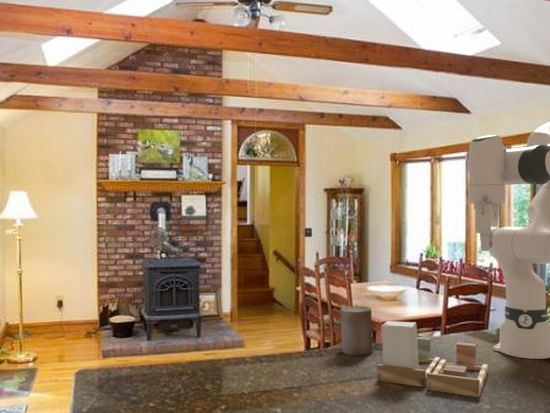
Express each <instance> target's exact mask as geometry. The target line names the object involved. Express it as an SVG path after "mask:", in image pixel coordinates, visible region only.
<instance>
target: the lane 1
mask: <svg viewBox="0 0 550 413" xmlns="http://www.w3.org/2000/svg"><path fill="white" fill-rule="evenodd" d="M431 339H432V338H431V337H423V336H422V337H421V336H417V343H418V360H419V363H420V362H421V363H428V364H429V366H428V367H427V368H426V369H422V368H419V369H414V368H406V367H398V366H390V365H384V364H380V363H379V364H377V366H376V367H377V369H376V370H377V376H376V377H377V378H376V379H377V381H379V382H386V383H393V384H398V385H399V384H400V385H408V386H414V387H423V388H426V387H427V372H428V373H433V372H434V370H435V369H436V367H437V366H438V364H439V363H440V361H441V360H442V359H441V357H440V356H435V357H434V358H431V357H432V355H431V354H432V353H431V352H432V344H431V341H432V340H431Z"/></svg>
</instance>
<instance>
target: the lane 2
mask: <svg viewBox="0 0 550 413" xmlns="http://www.w3.org/2000/svg"><path fill="white" fill-rule="evenodd" d="M455 345H456V350H455V351H456V352H455V353H456V363H455V362H453V363H452V362H447V359H443V358H442V359H440V360H441V361H440V363H439V364H438V366H437V367H436V369H435V370H434V372H433V373H428V372H427V385H426V390H427V391H431V392H438V391H440V393H441V392H442V393H445V392H446V393H447V394H453V393H454V394H455V395H460V394H461V396H468V397H475V398H480V396H481V394H482V391H483V390H482V389H483V386H484V385H485V381H486V379H487V376H488V373H489V364H486V363H482V366H481V365H477V349H476V348H477V344H476V343H469V342H459V341H457V342H456V344H455ZM446 365H456V366H464V367H467V370H469V371H470V370H471V371H479V374H478V376H477V378H476V377H475V378H474V377H468V376H467V377H460V376H452V375H444V374H443V369H444V368H445V366H446ZM454 394H453V395H454Z"/></svg>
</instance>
